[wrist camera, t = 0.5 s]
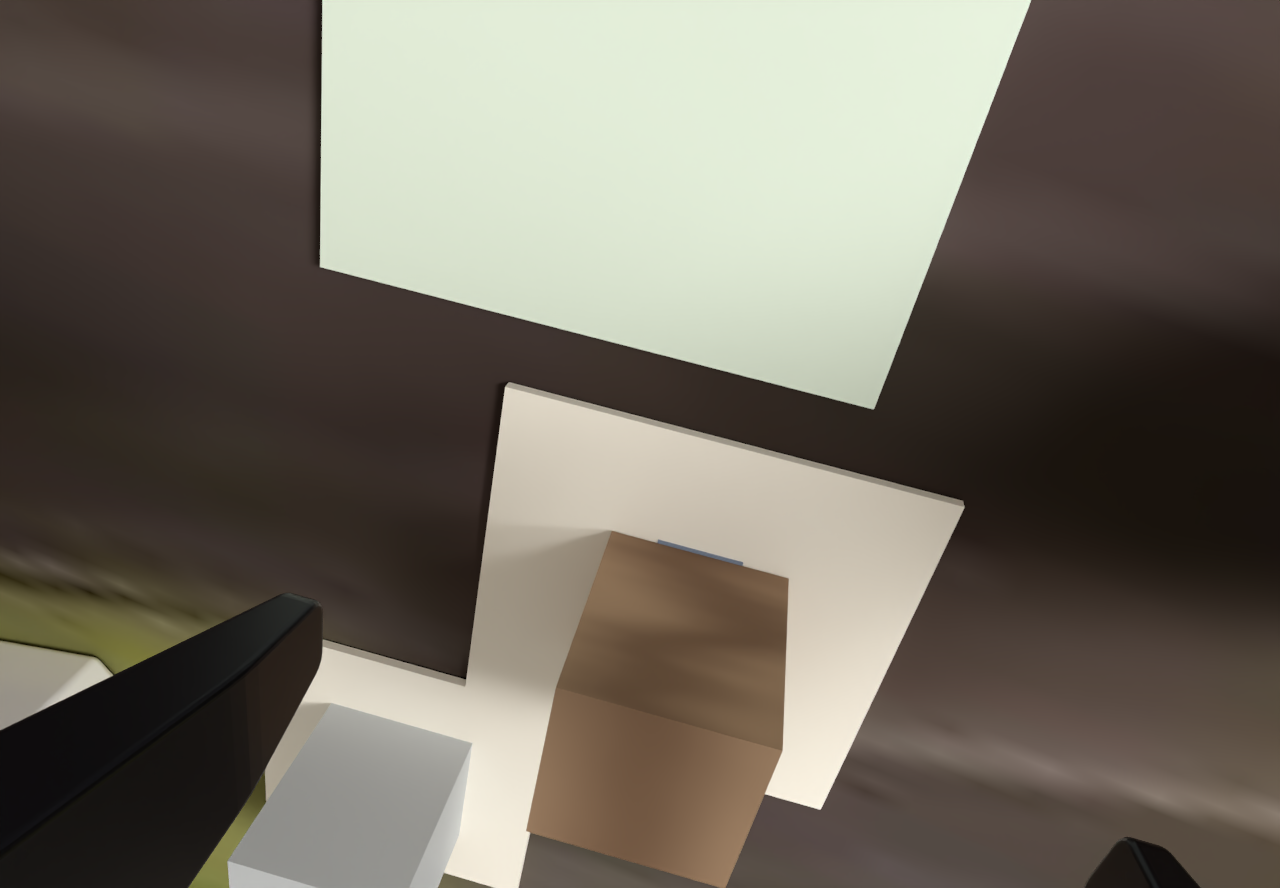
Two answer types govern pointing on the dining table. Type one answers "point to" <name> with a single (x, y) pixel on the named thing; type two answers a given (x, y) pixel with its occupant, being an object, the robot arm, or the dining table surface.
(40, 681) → the jar
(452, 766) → the grey block
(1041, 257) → the dining table surface
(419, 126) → the sage pad
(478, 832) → the tile
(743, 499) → the tile
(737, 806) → the walnut block
